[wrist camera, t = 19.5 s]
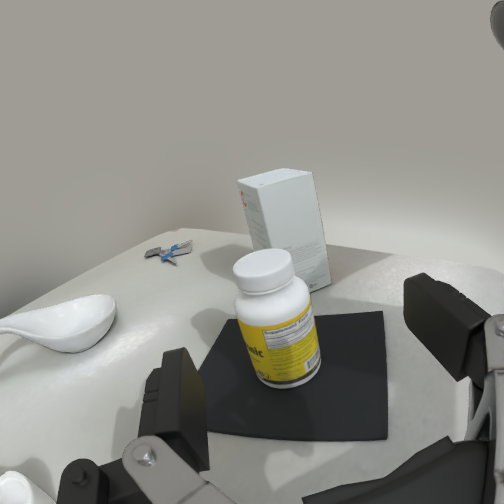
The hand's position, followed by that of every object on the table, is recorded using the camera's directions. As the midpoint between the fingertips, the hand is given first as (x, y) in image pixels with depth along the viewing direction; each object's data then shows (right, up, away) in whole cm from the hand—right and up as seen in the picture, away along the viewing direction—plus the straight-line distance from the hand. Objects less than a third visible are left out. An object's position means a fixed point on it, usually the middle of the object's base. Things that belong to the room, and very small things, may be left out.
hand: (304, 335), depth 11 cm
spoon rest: (-28, -11, +24) cm, 38 cm away
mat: (+1, -7, +14) cm, 16 cm away
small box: (+3, -1, +28) cm, 28 cm away
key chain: (-17, +3, +49) cm, 52 cm away
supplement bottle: (+1, -7, +14) cm, 16 cm away
